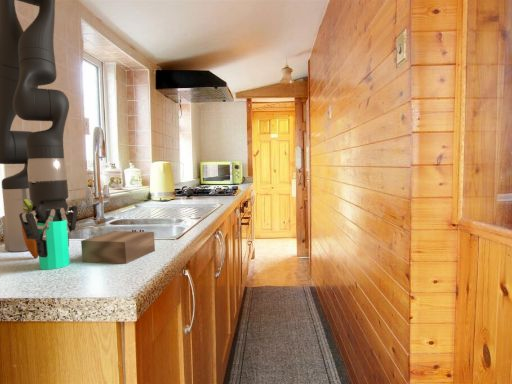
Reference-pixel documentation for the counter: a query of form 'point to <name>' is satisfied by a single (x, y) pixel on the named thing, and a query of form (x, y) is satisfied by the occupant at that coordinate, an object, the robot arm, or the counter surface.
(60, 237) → the candle
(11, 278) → the counter surface
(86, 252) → the walnut stand
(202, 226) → the counter surface
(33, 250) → the carrot
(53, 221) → the robot arm
